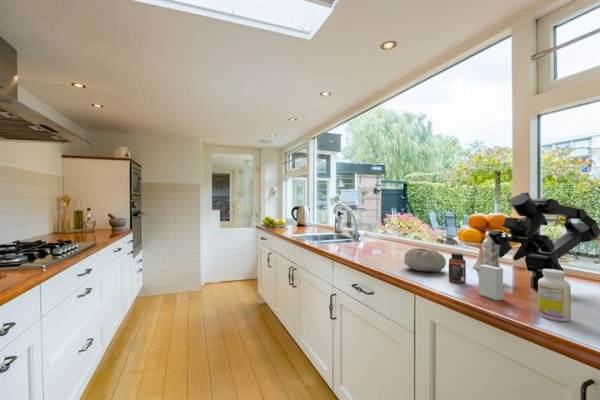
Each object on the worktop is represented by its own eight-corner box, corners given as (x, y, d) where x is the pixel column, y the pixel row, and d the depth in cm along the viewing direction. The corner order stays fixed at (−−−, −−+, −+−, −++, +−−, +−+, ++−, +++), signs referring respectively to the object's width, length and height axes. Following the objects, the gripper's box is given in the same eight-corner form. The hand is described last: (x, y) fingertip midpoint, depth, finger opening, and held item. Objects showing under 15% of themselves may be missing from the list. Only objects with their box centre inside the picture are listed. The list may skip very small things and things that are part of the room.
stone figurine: (480, 281, 112) (480, 231, 113) (483, 278, 117) (483, 230, 118) (499, 284, 108) (499, 233, 108) (502, 281, 113) (502, 231, 113)
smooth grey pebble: (433, 266, 140) (433, 246, 140) (454, 275, 122) (454, 252, 122) (398, 266, 139) (398, 246, 139) (414, 275, 121) (414, 252, 121)
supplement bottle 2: (554, 312, 80) (554, 267, 80) (578, 322, 74) (577, 273, 74) (531, 312, 80) (531, 267, 80) (553, 322, 73) (553, 273, 74)
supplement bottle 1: (468, 284, 108) (468, 255, 108) (451, 283, 109) (451, 254, 109) (462, 280, 114) (462, 252, 114) (446, 279, 115) (446, 251, 115)
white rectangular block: (485, 293, 97) (485, 264, 97) (503, 299, 91) (503, 268, 91) (479, 294, 96) (479, 265, 96) (496, 300, 90) (496, 269, 90)
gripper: (492, 208, 107) (469, 238, 103) (548, 210, 89) (524, 246, 85) (506, 229, 109) (485, 259, 105) (564, 234, 91) (541, 270, 88)
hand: (506, 258), depth 96 cm, fingers open, 5 cm apart
